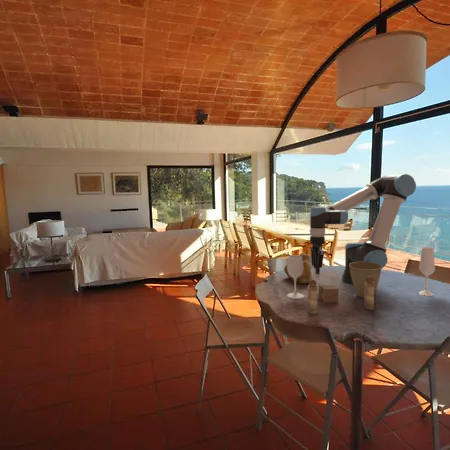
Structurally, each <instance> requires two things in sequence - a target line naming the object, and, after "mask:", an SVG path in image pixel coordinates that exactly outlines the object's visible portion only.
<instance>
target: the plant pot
mask: <svg viewBox="0 0 450 450" xmlns="http://www.w3.org/2000/svg"><path fill="white" fill-rule="evenodd" d="M349 268H350V274H351V278H352V282H353V284H352V285H353V288H354V290H355V293H356V295H357V297H359V298H363V299H364V295H365V281H366V277H368V276H371V277H373V279H374V283H375V285H374V294H376V290H377V288H378V285H379V281H380V279H381V273H382V269H383V268H382V266H381V265H380V264H377V263H373V262H353V263H350V264H349ZM381 268H382V269H381Z"/></svg>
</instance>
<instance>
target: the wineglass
mask: <svg viewBox="0 0 450 450" xmlns="http://www.w3.org/2000/svg"><path fill="white" fill-rule="evenodd" d="M286 265H287V271H288V273H289V275H290V276H292V277H293V278H294V281H293V283H294V286H293V292H290V293H288V294H286V297H287V298H288V299H292V300H301V299H303V298H305V295H304V294H302V293H299V292H297V283H296V280H297V278H298V277H299V276H301V275H302V273H303V260H302V257H301V256H299V255H288V258H287V262H286Z"/></svg>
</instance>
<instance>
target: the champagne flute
mask: <svg viewBox="0 0 450 450" xmlns="http://www.w3.org/2000/svg"><path fill="white" fill-rule="evenodd" d="M435 264H436V263H435V251H434V247H432V246H422V247H421V254H420V259H419V266H418V269H419V272H421V274H422V275H424V290H421V291H418V292H417V294H418V293H419V294H418V295H421V296H424V295H425V296H424V297H433V296H434V294H433V293H432V292H430V291H429V290H428V284H429V283H428V282H429V280H428V279H429V276H431V275H433V273H434V272H435V270H436V265H435ZM432 295H433V296H432Z"/></svg>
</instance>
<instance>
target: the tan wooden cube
mask: <svg viewBox="0 0 450 450" xmlns="http://www.w3.org/2000/svg"><path fill="white" fill-rule="evenodd" d="M317 299H319V300H320V301H321V302H323V303H324V304H331V303H339V287H337V286H335V285H334V284H332V283H326V284H318V285H317Z"/></svg>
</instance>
